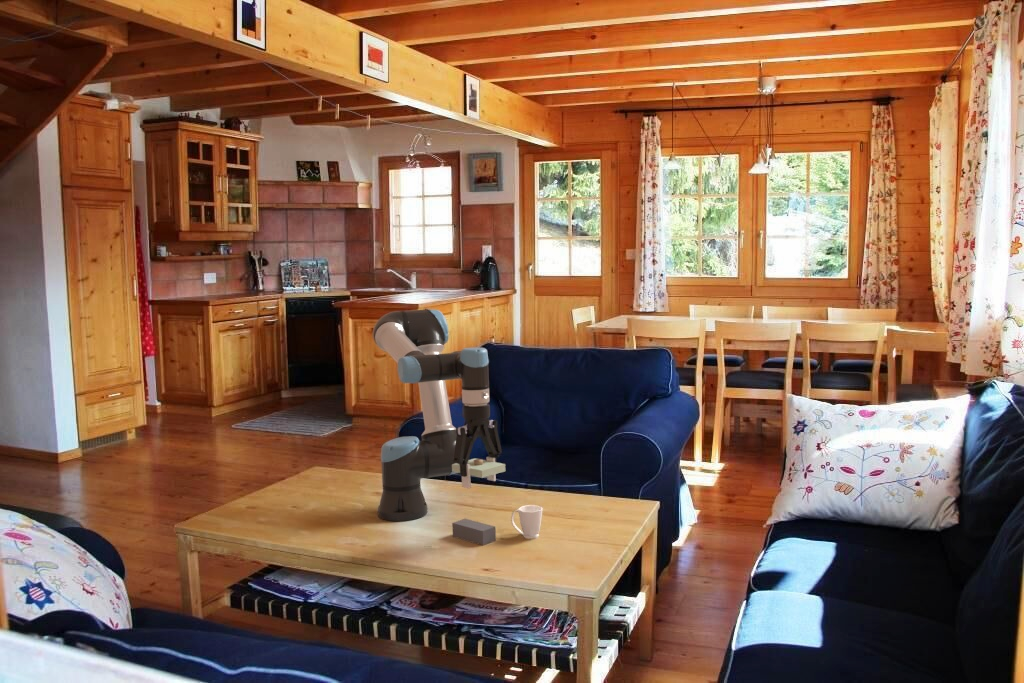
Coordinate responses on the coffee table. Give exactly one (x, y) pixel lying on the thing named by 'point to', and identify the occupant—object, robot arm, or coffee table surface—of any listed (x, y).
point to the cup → (529, 520)
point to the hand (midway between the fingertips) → (479, 483)
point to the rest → (474, 531)
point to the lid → (481, 468)
